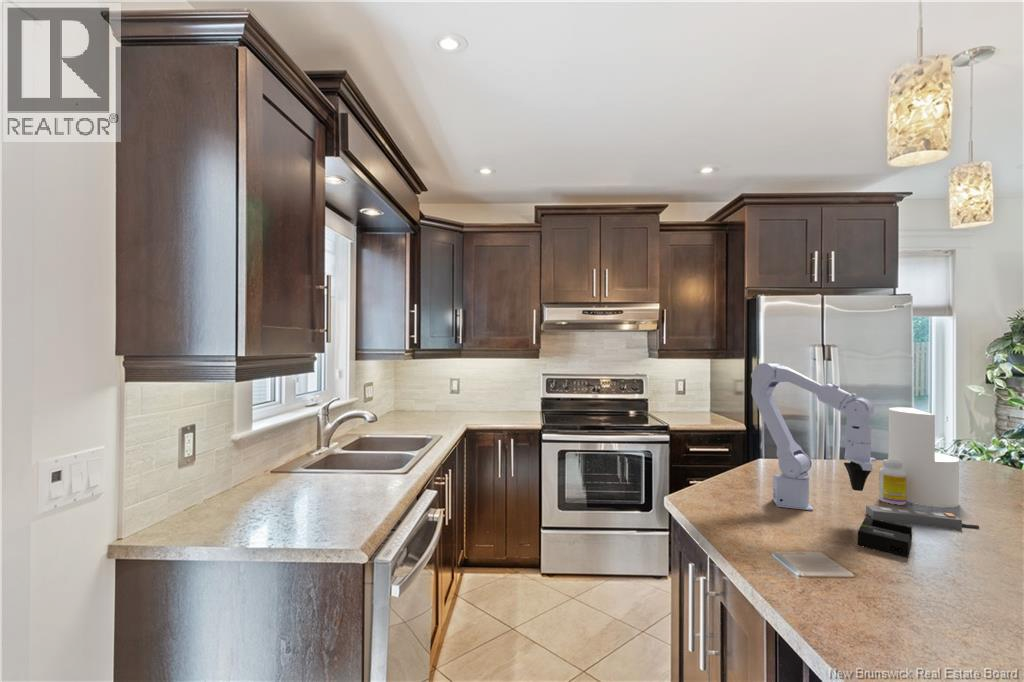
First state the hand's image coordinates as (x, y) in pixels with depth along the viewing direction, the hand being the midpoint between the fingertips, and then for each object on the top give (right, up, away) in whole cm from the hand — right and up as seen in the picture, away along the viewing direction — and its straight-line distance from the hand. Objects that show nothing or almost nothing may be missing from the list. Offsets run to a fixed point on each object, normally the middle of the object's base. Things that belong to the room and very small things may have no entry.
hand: (857, 490), depth 132 cm
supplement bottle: (+23, -9, +16) cm, 29 cm away
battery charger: (-4, -9, -15) cm, 18 cm away
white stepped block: (+35, -9, +20) cm, 42 cm away
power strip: (+17, -9, -1) cm, 19 cm away
